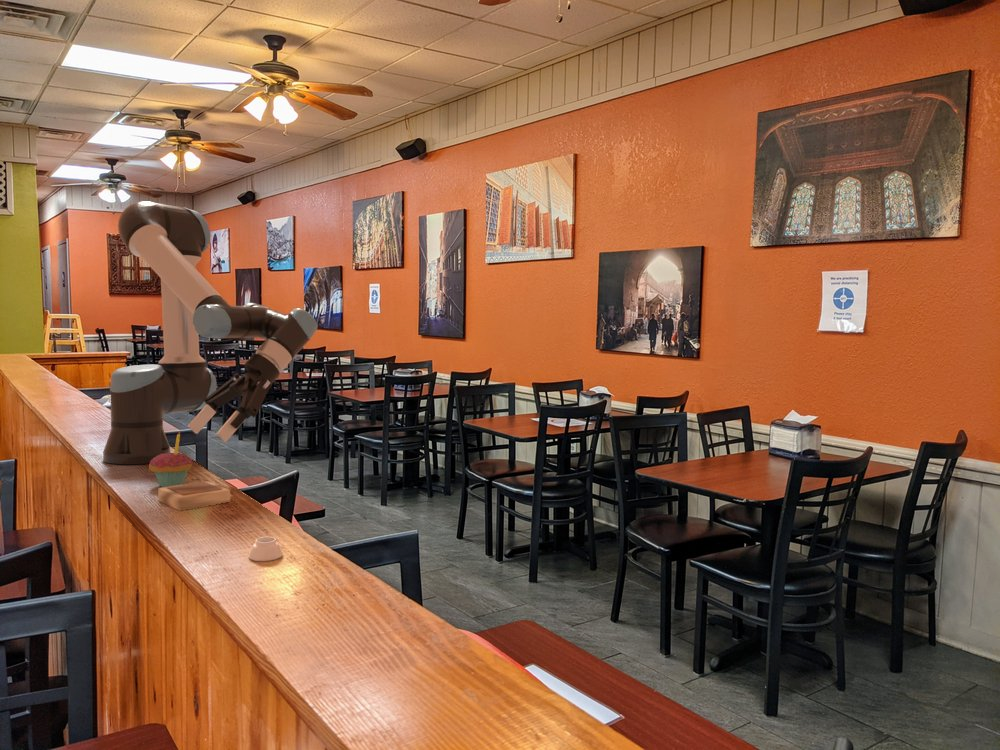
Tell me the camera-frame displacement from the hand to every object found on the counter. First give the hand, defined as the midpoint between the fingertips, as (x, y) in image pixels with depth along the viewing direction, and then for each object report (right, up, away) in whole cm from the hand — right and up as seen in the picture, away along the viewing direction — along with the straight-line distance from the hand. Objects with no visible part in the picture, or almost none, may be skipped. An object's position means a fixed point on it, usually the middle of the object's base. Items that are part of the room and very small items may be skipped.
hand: (206, 434), depth 160 cm
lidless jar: (+28, -16, -46) cm, 56 cm away
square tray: (+4, -12, -15) cm, 20 cm away
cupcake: (-6, -11, -3) cm, 13 cm away
